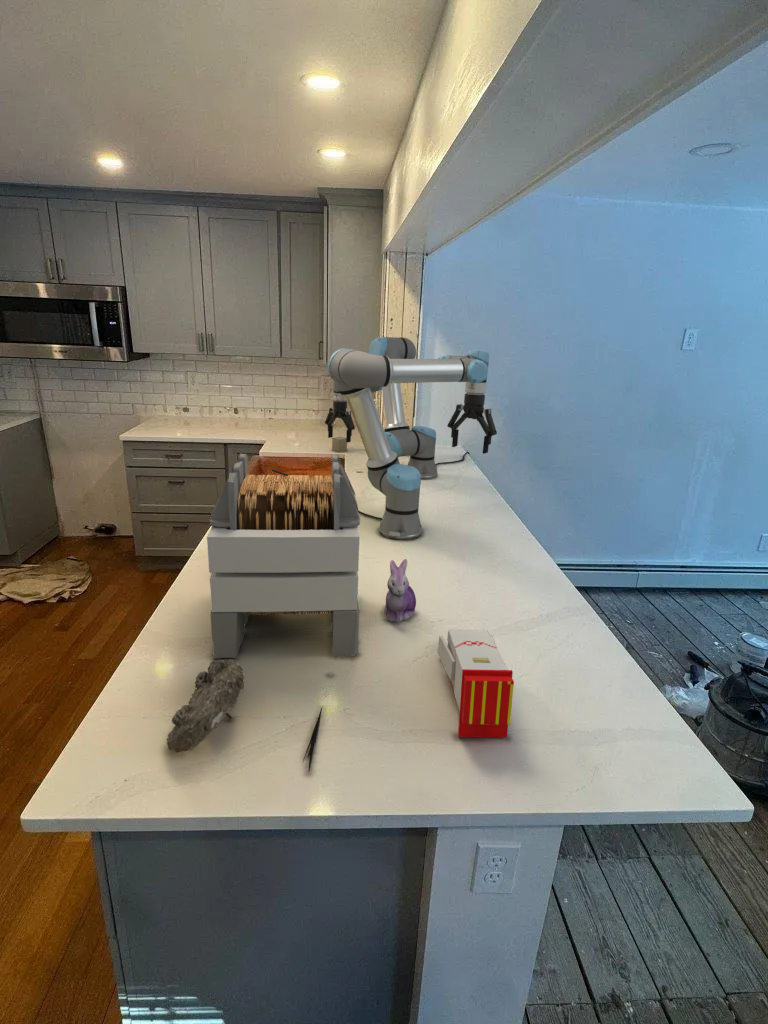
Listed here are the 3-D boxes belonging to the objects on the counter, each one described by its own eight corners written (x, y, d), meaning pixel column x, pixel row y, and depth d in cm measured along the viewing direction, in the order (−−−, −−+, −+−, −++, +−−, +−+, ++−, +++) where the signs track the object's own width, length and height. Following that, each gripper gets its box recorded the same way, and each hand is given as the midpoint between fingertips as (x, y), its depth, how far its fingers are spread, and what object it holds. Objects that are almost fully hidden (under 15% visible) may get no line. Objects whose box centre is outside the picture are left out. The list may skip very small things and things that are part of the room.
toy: (488, 613, 130) (523, 677, 101) (484, 667, 133) (517, 744, 104) (435, 612, 130) (455, 676, 101) (432, 666, 133) (451, 743, 103)
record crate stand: (232, 588, 156) (224, 444, 142) (351, 587, 160) (354, 446, 146) (210, 660, 125) (198, 483, 111) (359, 656, 128) (364, 485, 115)
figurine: (392, 627, 141) (395, 572, 136) (374, 608, 149) (376, 556, 144) (425, 619, 145) (429, 566, 140) (405, 601, 154) (408, 550, 149)
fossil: (192, 660, 117) (244, 628, 112) (224, 691, 120) (276, 661, 115) (142, 746, 98) (202, 712, 93) (182, 779, 101) (242, 748, 96)
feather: (331, 679, 122) (336, 673, 122) (307, 777, 96) (313, 769, 95) (324, 675, 122) (329, 669, 121) (298, 772, 95) (304, 764, 95)
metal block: (332, 450, 310) (332, 438, 308) (339, 448, 315) (339, 436, 312) (339, 452, 307) (339, 439, 305) (346, 450, 311) (347, 438, 309)
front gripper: (441, 390, 214) (437, 445, 221) (500, 398, 199) (493, 457, 206) (452, 388, 219) (447, 442, 227) (510, 396, 205) (503, 454, 212)
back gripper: (318, 397, 306) (318, 436, 314) (352, 404, 292) (351, 445, 299) (328, 396, 312) (327, 434, 319) (362, 403, 297) (360, 443, 305)
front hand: (469, 449), depth 216 cm, fingers open, 13 cm apart
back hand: (339, 439), depth 309 cm, fingers open, 13 cm apart
